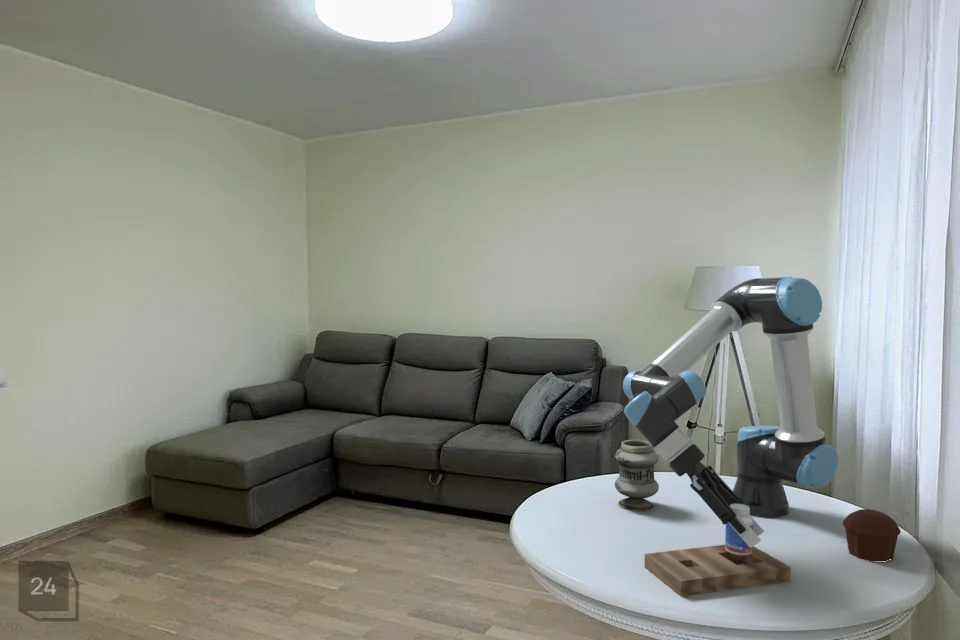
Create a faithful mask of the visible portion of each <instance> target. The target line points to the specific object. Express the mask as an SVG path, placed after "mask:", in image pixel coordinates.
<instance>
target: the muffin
mask: <svg viewBox="0 0 960 640" xmlns="http://www.w3.org/2000/svg"><path fill="white" fill-rule="evenodd" d="M842 526H843V527H844V530H845V536H846V542H847V550H848V553H849V555H852V556H854V557H856V558H857V559H860V560H863V559H864V560H863V561H867V560H869V561H868V562H871V561H887V560H889V559H893V560H894V556H895V550H896V546H897V541H898V537H899V535H900V534H901V533H902V532H901V529H900V527H899V525H898V524H897V522H896V521H895V520H894V519H893V518H892V517H891V516H889V515H887V514H886V513H885V512H883V511H879V510H876V509H875V510H874V509H865V508H863V509H858V510H855V511H852V512H850V513H849V514H847V516H846V517H845V518H844V519H843V520H842Z"/></svg>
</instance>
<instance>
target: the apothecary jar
mask: <svg viewBox="0 0 960 640" xmlns="http://www.w3.org/2000/svg"><path fill="white" fill-rule="evenodd" d="M614 457H615V459H616V461H617V462H618V463H619V470H618V471H619V472H618V473H619V474H618V477H617V478H616V480H615V482H614V487H615V490H616V491H617V492H618V493H620V494H621V495H622V496H625V497H626V498H622V499H620V500H619V501H618V503H617V504H618V506H619V507H620V506H621V507H620V508H622V509H624V508H625V509H626V510H630V511H633V510H634V511H635V512H647V510H649V511H652V510H653V509H654V508H655V505H654V503H653V502H651V501H650V500H647V499H648V498H651V497H653V496H655V495H656V494H657V493H658V492H659V487H660V486H659V483H658V481H657V480H656V479H655V465H656V464H657V463H658V462H659V455H657V451H656V450H655V449H654V448H653V446H652V445H651V444H650V443H649V442H648V441H647V440H642V439H627V440H626V439H625V440H623V441H621V445H620V448H619V449H617V451H616V452H615V456H614ZM625 509H624V510H625ZM651 509H652V510H651Z"/></svg>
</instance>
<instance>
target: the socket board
mask: <svg viewBox="0 0 960 640" xmlns="http://www.w3.org/2000/svg"><path fill="white" fill-rule="evenodd" d="M644 569H646V570H647V569H648V570H649V571H648V570H647V571H648V572H650V573H651V574H652V573H653V574H654V575H653V574H652V575H653V576H655V577H656V578H657V579H658V580H660V581H661V582H662V583H664V585H666V586H667V587H669V588H670V589H671V590H672V591H673V592H675V593H676V594H677V595H679V597H684V596H690V595H691V596H692V595H698V594H706V593H713V592H720V591H727V590H734V589H735V590H736V589H737V590H738V589H742V588H750V587H757V586H765V585H772V584H780V583H781V584H782V583H787V582H791V580H792V579H791V578H792V577H791V576H792V570H791V569H792V567H791V566H790V565H788V564H787V563H784V562H783V561H781V560H779V559H777V558H775V557H773V556H772V555H770V554H769V553H766V552H765V551H763V550H761V549H759V548H757V547H756V546H755V545H754V546H753V547H752V553H751V554H749V555H736V554H732V553H730V552H728V551H727V550H726V549H725V544H719V545H708V546H701V547H693V548H692V547H691V548H684V549H676V550H675V549H674V550H667V551H666V550H665V551H657V552H648V553H644Z"/></svg>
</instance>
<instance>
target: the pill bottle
mask: <svg viewBox="0 0 960 640" xmlns="http://www.w3.org/2000/svg"><path fill="white" fill-rule="evenodd" d="M730 507H731V509H732V510H733V511H734V513H735V514H736V515H739V516H740V517H741V518H742V519H743V520H744V521H745V522H746V524H747V525H748V526H749V527H750V528H751V529H752V530H753V520H752V518H753V517H752V518H751V517H749V516H748V515H749V513H750V507H749V506H747V505H743V504H731V505H730ZM724 539H725V540H724V545H725V549H726V550H727V551H728V552H730V553H732V554H736V555H749V554H751V553H752V548H750V547H749V546H748V545H747V544H746V543H745V541H744V540H743V539H742V538H741V537H740V536H739V535H738V534H737V532H736V531H735V530H734V529H733V528H732V527H731V526H730V525H729V523H726V524H725V536H724Z"/></svg>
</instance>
